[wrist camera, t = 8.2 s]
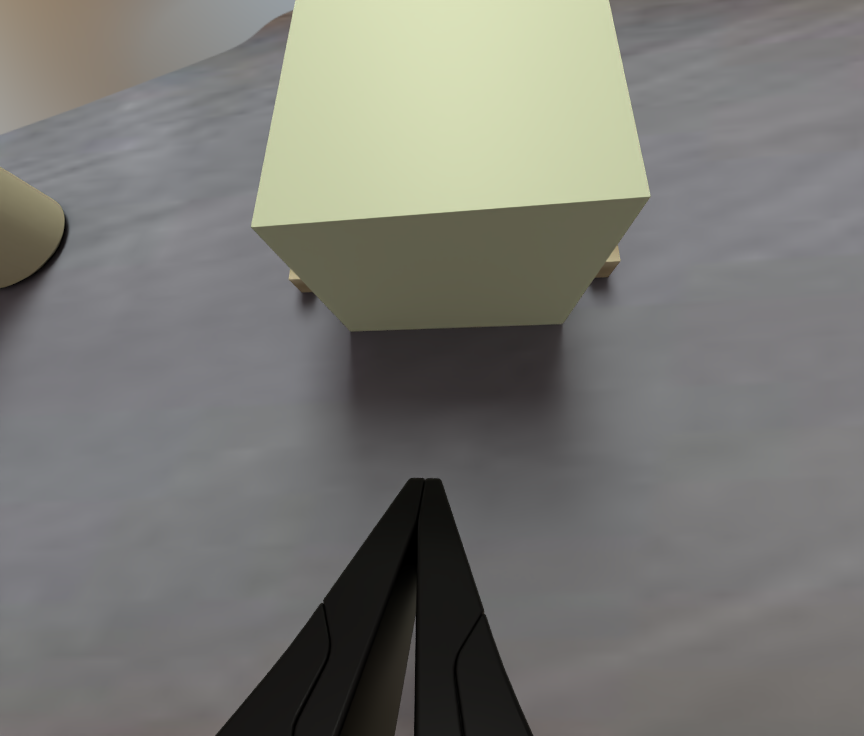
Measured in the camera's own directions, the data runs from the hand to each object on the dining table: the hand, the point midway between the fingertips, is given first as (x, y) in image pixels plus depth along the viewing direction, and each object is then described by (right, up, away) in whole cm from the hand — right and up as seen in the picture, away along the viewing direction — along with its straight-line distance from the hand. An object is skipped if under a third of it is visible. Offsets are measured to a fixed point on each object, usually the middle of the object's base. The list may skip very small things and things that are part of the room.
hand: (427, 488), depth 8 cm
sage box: (+1, +12, +12) cm, 17 cm away
